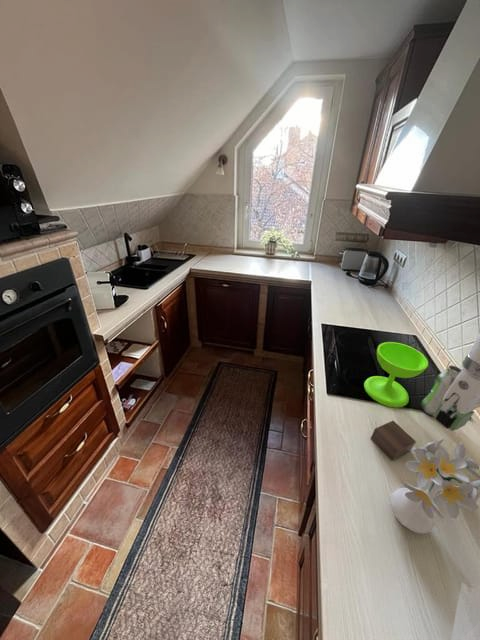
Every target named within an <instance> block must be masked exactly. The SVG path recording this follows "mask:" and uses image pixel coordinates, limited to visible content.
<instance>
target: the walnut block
mask: <svg viewBox="0 0 480 640" xmlns="http://www.w3.org/2000/svg"><path fill="white" fill-rule="evenodd" d="M370 439H371V440H372V442H373V443H374V444H375V445H376V446H377V447H378V448H379V449H380V450H381V452H383V454H385V455H386V457H387V458H388V459H389V460H390V461H391V462H392V461H395V460H396V459H398V458H400V457H402V456H404V455H406V454H408V453H410V452H412V451H411V450H412V449H413V448H414V446H415V445H416V442H417V441H416V440H415V439H414V438H413V437H412V436H411V435H409V433H407V431H405V430H404V428H402V427H401V426H400V425H399V424H398V423H397V422H396V421H394V420H391V421H389V422H386V423H384V424H382V425H380V426H377V427H375V428H374V430H373V431H372V434H371V437H370Z"/></svg>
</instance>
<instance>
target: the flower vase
mask: <svg viewBox="0 0 480 640" xmlns="http://www.w3.org/2000/svg"><path fill="white" fill-rule="evenodd" d="M444 440H445V437H444V438H442V439H439V440H437V442H435V441H434V440H433V441H430V442H427V443H426V444H425V448H424V447H423V446H421V447H419V446H418V447H412V449H411V451H410V452H414V454H415V457H416V459H417V460H418V461H416V460H408V461H407V462H405V468H406V469H408V470H409V471H411V472H414V473H418V475H417V478H416V484H417V487H416V486H414V485H412V484H410V483H408V482H406V481H404V480H401V484H402V485H403V486H404V487H399V488H397V489H395V490H394V491H393V492H392V493H391V495H390V498H389V499H390V506H391V510H392V512H393V514H394V516H395V518H396V519H397V521H398V522H399V523H400V524H401V525H402V526H403V527H405V528H406V529H408V530H409V531H412V532H413V533H416V534H422V535H423V534H424V535H425V534H428V533H431V532H432V531H433V530H434V528H435V526H436V515H438V516H439V517H441V518H442V519H443V518H445V516H444V514H443V513H442V512H441V510H440V508H439V507H438V506H437V505H444V504H446V509H447V513H448V515H449V517H450V518H451V519H456V518H458V516H459V514H460V506H462V507H463V508H465V509H467V510H468V512H469V513H471V511H477V510H478V509H479V505H478V503H477V502H478V501H479V497H480V494H479V491H478V490H479V489H480V475H479V474H478V472H477V471H475V470H480V466H479V464H478V463H477V462H476V461H475V460H473V459H472V458H470V457H466V455H467V451H466V447H465V446H464V444H463V442H462V441H459V444H456V443H454V447H455V458H451V459H450V455H449V453H448V451H447V450H446V448H445V447H444V446H442V443H443V441H444ZM436 452H437V455H436ZM463 469H465V470H466V471H467V472H469V473H470V474H472V475H473V476H474V477H476V479H477V480H473V481H470V478H469V477H468V476H467V475H466V474H465V473H464V472H462V471H460V470H463ZM453 481H455V482H457V483H458V484H460V485H454V484H453ZM441 490H442V491H441ZM440 491H441V492H440ZM459 505H460V506H459Z"/></svg>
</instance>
